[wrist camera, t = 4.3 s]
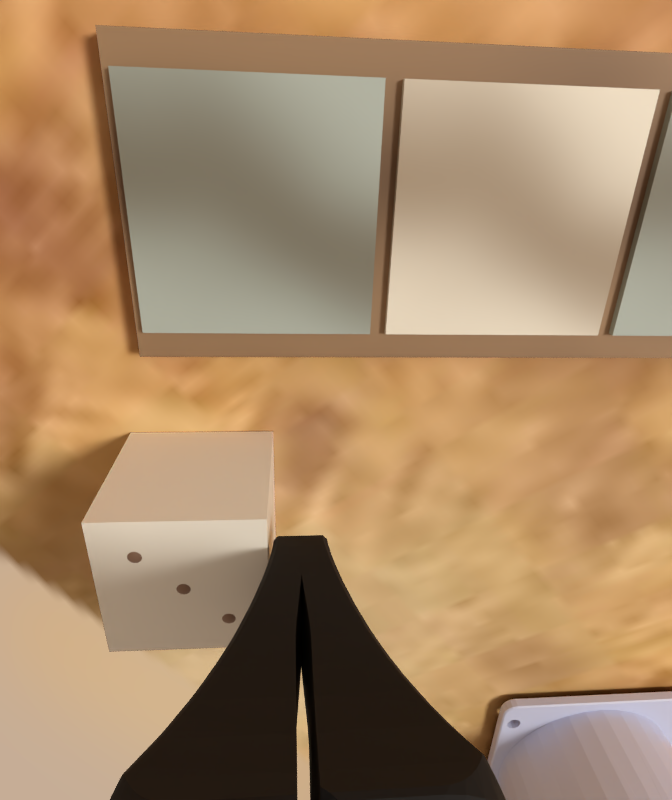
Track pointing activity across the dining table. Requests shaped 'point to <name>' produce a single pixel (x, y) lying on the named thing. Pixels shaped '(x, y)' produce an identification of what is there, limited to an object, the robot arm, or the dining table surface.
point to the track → (390, 196)
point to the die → (181, 537)
